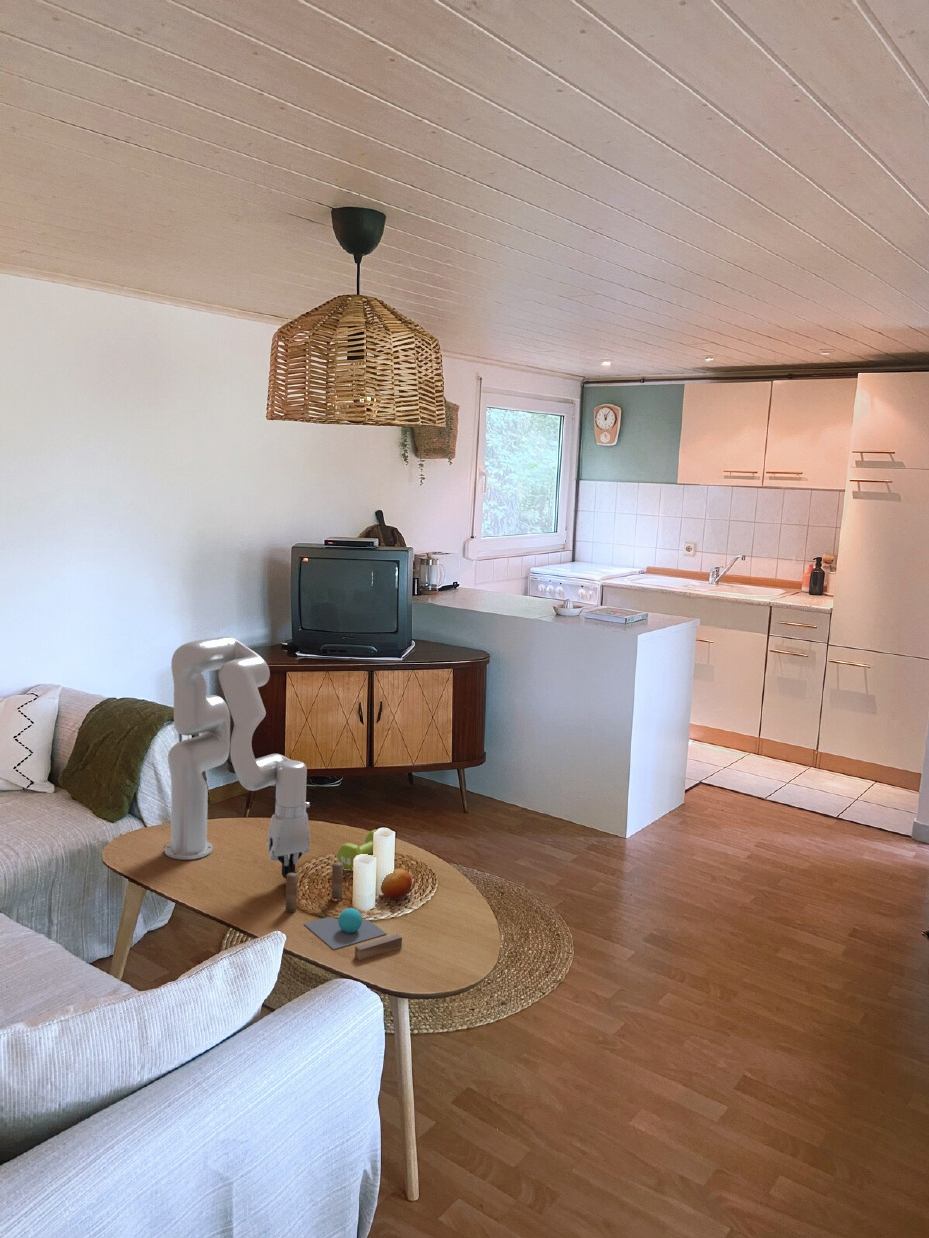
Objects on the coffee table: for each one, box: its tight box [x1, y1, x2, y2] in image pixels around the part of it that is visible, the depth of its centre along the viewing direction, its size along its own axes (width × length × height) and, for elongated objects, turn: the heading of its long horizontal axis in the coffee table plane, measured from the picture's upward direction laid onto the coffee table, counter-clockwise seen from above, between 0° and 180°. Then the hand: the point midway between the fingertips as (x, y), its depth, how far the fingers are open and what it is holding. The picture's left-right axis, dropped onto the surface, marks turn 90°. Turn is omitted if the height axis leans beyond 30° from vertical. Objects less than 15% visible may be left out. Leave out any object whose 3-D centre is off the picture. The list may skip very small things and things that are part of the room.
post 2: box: [330, 861, 344, 900], centre depth 230 cm, size 3×3×9 cm
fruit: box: [380, 868, 413, 901], centre depth 234 cm, size 8×8×8 cm
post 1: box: [284, 872, 299, 914], centre depth 223 cm, size 3×3×9 cm
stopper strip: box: [354, 933, 403, 962], centre depth 206 cm, size 2×11×2 cm, turn 127°
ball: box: [338, 907, 362, 933], centre depth 214 cm, size 6×6×6 cm
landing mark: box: [303, 916, 387, 950], centre depth 216 cm, size 14×14×1 cm
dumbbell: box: [336, 829, 378, 873], centre depth 254 cm, size 16×8×7 cm, turn 149°
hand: (288, 877), depth 238 cm, fingers closed
